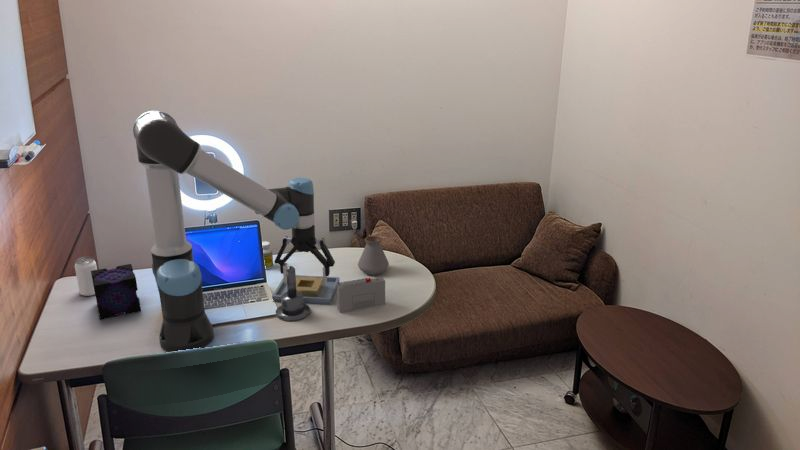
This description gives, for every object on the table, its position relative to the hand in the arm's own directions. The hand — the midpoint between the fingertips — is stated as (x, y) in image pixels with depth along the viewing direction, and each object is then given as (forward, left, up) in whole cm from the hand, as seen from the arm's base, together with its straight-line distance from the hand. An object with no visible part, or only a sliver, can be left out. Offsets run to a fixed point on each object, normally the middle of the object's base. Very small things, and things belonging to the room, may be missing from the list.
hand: (305, 283), depth 204 cm
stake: (-14, +1, -4) cm, 14 cm away
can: (-8, +73, -4) cm, 73 cm away
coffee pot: (+25, -19, -4) cm, 32 cm away
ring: (+1, 0, -3) cm, 3 cm away
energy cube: (-17, +58, -4) cm, 60 cm away
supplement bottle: (+19, +20, -4) cm, 28 cm away
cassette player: (-7, -20, -4) cm, 22 cm away
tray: (+1, 0, -4) cm, 4 cm away
